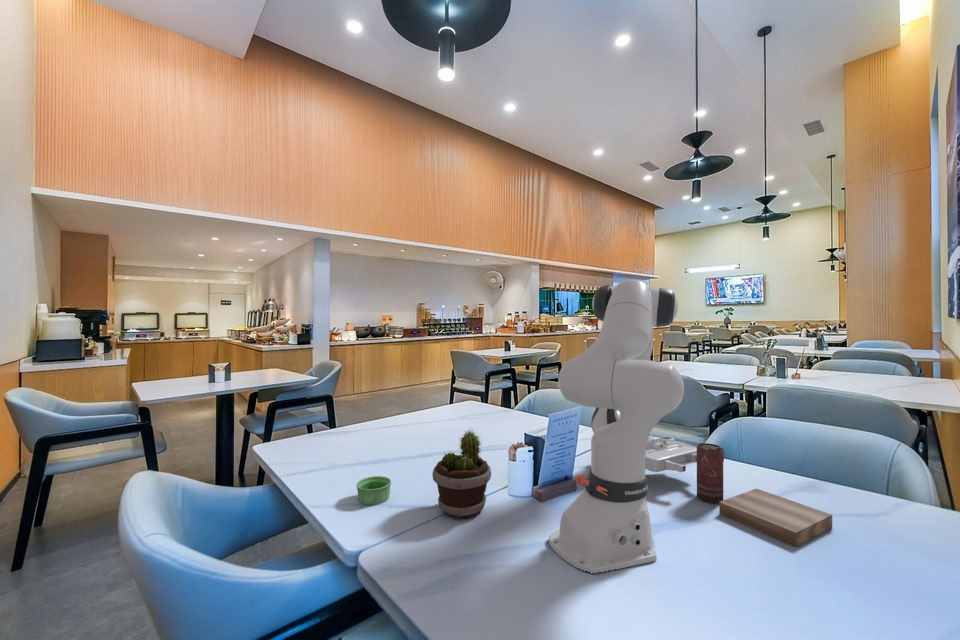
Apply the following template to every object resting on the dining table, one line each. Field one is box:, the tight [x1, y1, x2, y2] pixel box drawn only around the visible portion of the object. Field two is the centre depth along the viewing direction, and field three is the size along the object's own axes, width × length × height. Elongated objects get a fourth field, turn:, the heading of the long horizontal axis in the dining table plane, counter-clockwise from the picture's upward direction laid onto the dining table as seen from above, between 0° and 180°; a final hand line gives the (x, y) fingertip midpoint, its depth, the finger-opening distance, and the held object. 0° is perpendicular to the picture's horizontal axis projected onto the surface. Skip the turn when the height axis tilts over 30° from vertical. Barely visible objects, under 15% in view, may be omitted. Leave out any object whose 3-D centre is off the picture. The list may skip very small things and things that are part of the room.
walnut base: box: [718, 488, 833, 548], centre depth 94 cm, size 16×16×3 cm
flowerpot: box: [431, 426, 492, 520], centre depth 100 cm, size 14×15×20 cm
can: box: [696, 442, 725, 505], centre depth 105 cm, size 6×6×14 cm
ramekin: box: [356, 475, 392, 506], centre depth 107 cm, size 9×9×4 cm
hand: (695, 466), depth 109 cm, fingers open, 8 cm apart
